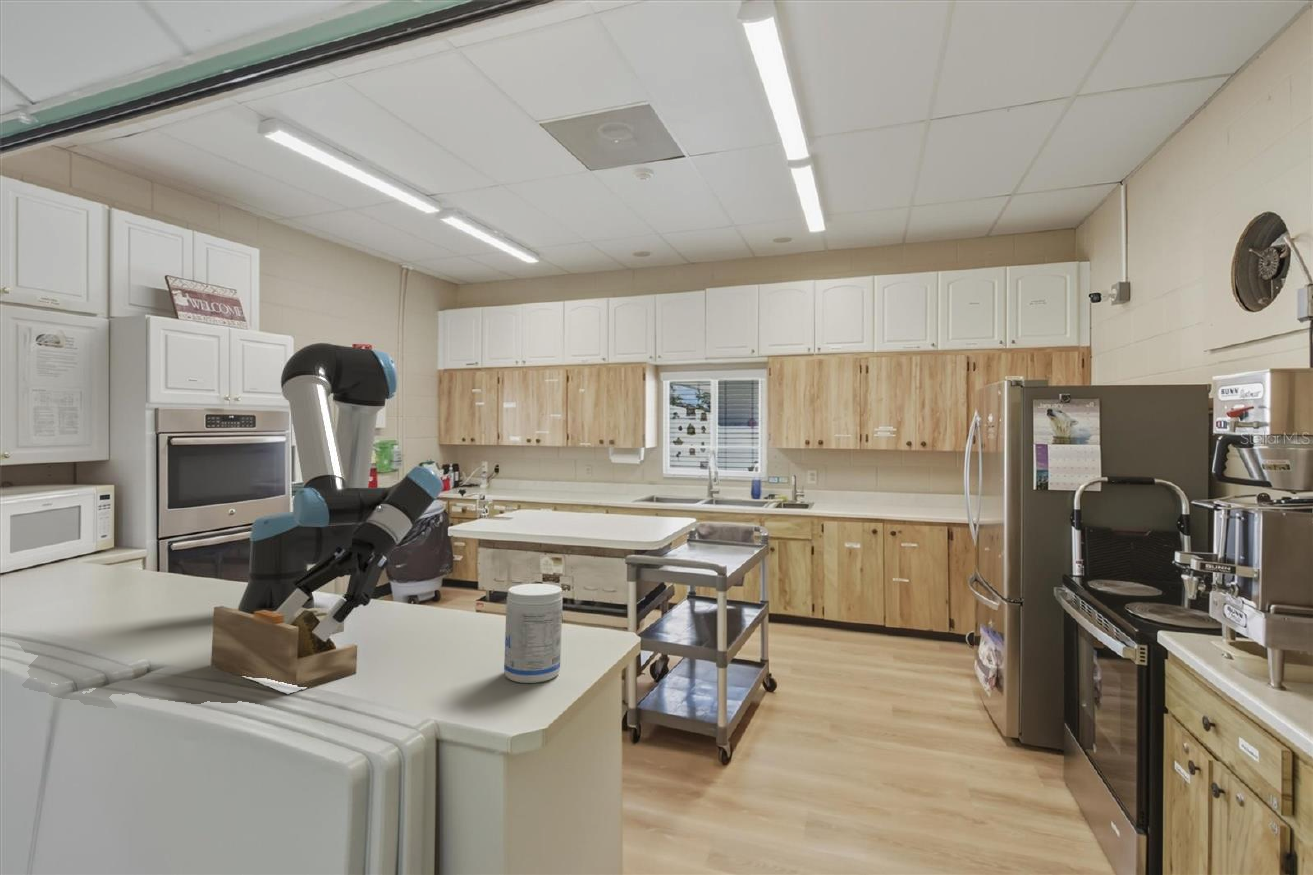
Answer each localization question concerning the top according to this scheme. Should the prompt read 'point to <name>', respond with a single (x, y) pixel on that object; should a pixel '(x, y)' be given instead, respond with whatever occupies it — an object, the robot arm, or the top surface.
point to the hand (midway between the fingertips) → (295, 630)
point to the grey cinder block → (319, 614)
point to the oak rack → (273, 650)
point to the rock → (310, 636)
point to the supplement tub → (533, 632)
